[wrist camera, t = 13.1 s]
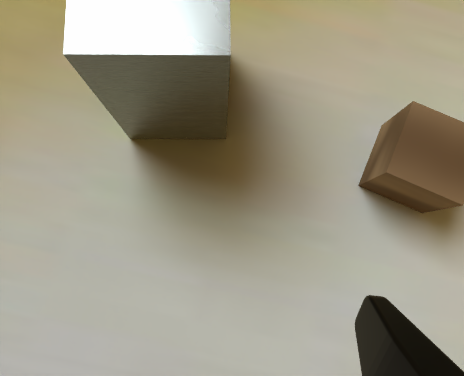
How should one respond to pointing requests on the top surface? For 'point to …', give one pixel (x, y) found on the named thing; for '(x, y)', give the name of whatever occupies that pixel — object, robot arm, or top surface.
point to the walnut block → (418, 160)
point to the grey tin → (155, 63)
